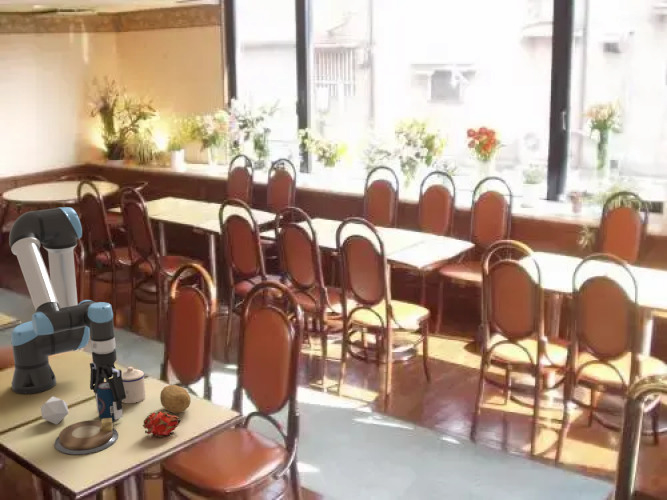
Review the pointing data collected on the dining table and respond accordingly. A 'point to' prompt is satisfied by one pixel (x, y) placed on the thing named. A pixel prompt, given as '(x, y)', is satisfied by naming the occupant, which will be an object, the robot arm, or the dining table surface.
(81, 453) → the turntable base
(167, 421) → the dragon fruit
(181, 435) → the dining table surface
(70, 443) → the turntable
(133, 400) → the teacup with lid
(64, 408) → the die
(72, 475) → the dining table surface
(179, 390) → the potato
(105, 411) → the soda can
